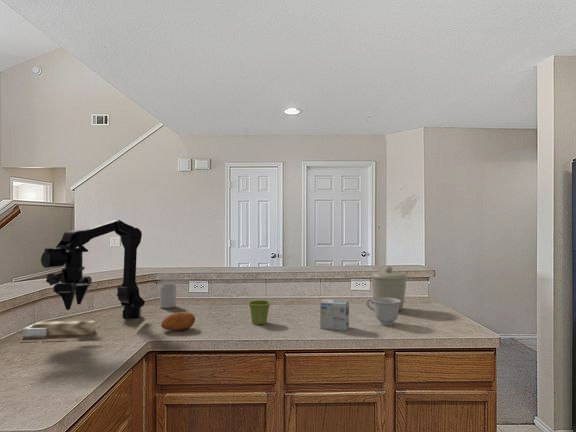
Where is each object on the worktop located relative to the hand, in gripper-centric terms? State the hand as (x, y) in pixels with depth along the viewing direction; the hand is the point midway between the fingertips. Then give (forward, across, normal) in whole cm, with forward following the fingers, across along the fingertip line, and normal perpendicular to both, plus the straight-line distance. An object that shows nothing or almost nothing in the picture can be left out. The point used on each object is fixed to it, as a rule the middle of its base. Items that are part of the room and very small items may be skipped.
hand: (73, 307), depth 143 cm
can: (+12, -46, +26) cm, 54 cm away
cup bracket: (+9, +2, -11) cm, 14 cm away
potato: (+11, -4, +37) cm, 39 cm away
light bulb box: (+12, -2, +99) cm, 100 cm away
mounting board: (+11, -4, -4) cm, 12 cm away
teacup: (+12, -6, +121) cm, 122 cm away
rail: (+9, +2, -2) cm, 10 cm away
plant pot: (+12, -12, +69) cm, 71 cm away
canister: (+12, -31, +133) cm, 138 cm away
